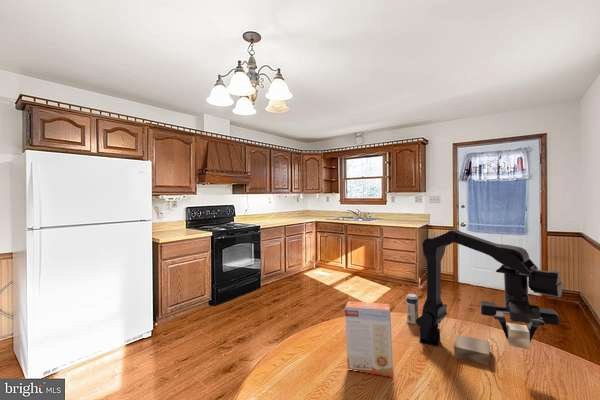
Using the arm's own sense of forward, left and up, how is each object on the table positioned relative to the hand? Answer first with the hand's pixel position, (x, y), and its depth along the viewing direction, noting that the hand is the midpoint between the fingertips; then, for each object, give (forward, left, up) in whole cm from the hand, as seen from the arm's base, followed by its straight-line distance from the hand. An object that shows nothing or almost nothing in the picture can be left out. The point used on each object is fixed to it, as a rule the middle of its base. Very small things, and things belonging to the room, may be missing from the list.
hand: (517, 340), depth 87 cm
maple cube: (0, 0, -1) cm, 1 cm away
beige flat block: (-12, +7, -11) cm, 18 cm away
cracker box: (-41, -17, -11) cm, 46 cm away
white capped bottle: (-34, +25, -11) cm, 44 cm away
